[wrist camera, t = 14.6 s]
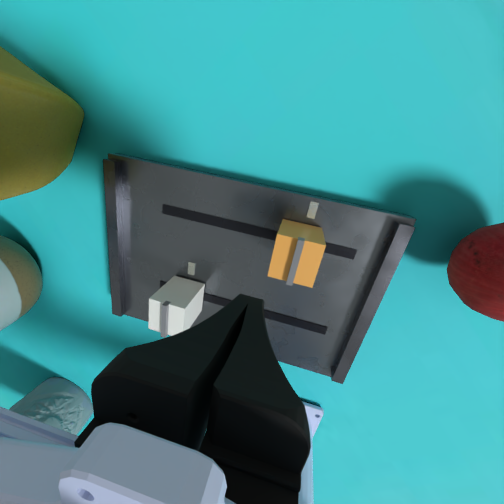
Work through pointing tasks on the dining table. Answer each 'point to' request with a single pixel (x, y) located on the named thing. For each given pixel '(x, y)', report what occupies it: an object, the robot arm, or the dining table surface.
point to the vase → (17, 281)
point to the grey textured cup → (57, 405)
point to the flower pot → (33, 128)
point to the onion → (480, 271)
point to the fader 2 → (297, 253)
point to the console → (250, 255)
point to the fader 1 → (175, 306)
